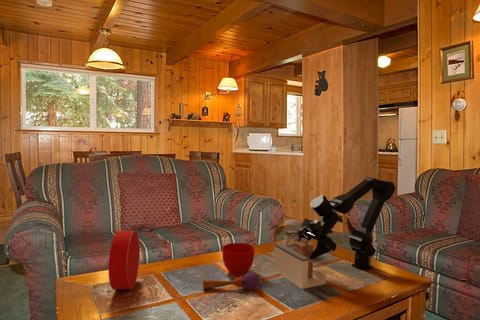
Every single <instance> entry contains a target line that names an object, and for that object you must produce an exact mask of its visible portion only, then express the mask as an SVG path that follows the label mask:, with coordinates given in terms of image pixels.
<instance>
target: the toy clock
mask: <svg viewBox="0 0 480 320" xmlns="http://www.w3.org/2000/svg"><path fill="white" fill-rule="evenodd" d="M139 264H140V239H139V234H138V231H136V230H117V231H116V232H115V234H114V236H113V238H112V242H111V245H110V250H109V255H108V279H109V284H110V287H111V289H112V290H133V289H134V287H135V285H136V282H137V278H138V272H139V266H140V265H139Z"/></svg>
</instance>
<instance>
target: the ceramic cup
mask: <svg viewBox="0 0 480 320" xmlns="http://www.w3.org/2000/svg"><path fill="white" fill-rule="evenodd" d="M255 249H256V248H255V246H254V245H251V244H249V243H245V242H234V243H233V242H231V243H226V244H224V245H223V246H222V249H221V252H222V261H223V263H224V267H225V269H227V271H228V272H229V273H230V274H231V275H233V276H243V275H244V276H245V275H246V274H247V273H248V271H249V270H250V269H251V267H252V265H253V263H254V260H255Z"/></svg>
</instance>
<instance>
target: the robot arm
mask: <svg viewBox="0 0 480 320" xmlns="http://www.w3.org/2000/svg"><path fill="white" fill-rule="evenodd" d="M370 191H371V192H372V193H371V194H372V199H371V201H370V204H369V206H368V209H367V210H366V213H365V215H364V217H363V220H362V222H361V225H360V227H359V228H357V229H355V228H353V229H352V230H351V231H352V232H351V234H350V235H349V239H348V242H349V245H350V248H351V251H354V262H353V263H352V264H351V266H352V267H355V268H357V269H360V270H361V271H368V270H372V269H373V268H374V265H371V261H372V259H371V258H372V257H373V256H375V255H376V252H377V249H376V248H375V247H374V246H373V245H372V243H373V233H372V232H373V230H374V228H375V226H376V223H377V221H378V219H379V216H380V214H381V212H382V209H383V208H384V205H385V203H386V202H387V201H388V200H390V199H391V198H392V197H393V195H394V193H395V191H396V186H395V184H394V182H393V181H389V180H382V179H377V178H375V177H365V178H364V179H363V180H362V181H361V182H360V183H358V184H356V186H354V187H353V188H351V189H350V190H349V191H347V192H346V193H344V194H338V195H337V196H335V197H333V198H332V199H331V200H328V199H327V196H326V195H324V194H321V195H319V196H317V197H315V198H313V199H312V200H311V201H310V208H311V209H312V210H313V211H314V212H315V214H317V215H318V217H321V218H320V219H319V220H318V219H315V220H311V219H308V218H306V217H304V218H303V222H302V224H301V225H299V226H297V228H296V230H297V233H298V236H299V239H297V240H298V242H300V241H301V238H304V239H306V240H308V242H309V243H310V241H311V240H314V241H316V242H317V243H316V247H315V248H313V252H312V254H311V256H310V258H309V259H310V260H313V261H314V260H315V259H317V258H318V257H321V256H323V255H325V254H328V253H331V252H333V253H334V252H335V250H336V249H337V243H336V242H335V241H334V239H332V238H331V237H329V236H328V235H329V234H331V235H332V234H333V229H334V228H335V226H336V225H337V224H338V223H340V224H342V223H343V221H344V220H343V216H342V215H339V213H340V214H343V215H346V214H348V213H349V212H350V211H351V210H352V209H353V207H354V206H355V203H356V202H357V201H359V200H360V199H361V198H362V197H364V196H365V195H367V193H369V192H370Z"/></svg>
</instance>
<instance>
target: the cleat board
mask: <svg viewBox="0 0 480 320" xmlns="http://www.w3.org/2000/svg"><path fill="white" fill-rule="evenodd" d="M286 246H287V245H286ZM286 246H284V243H283V244H282V242H280V243H279V242H277V243H274V260H273V263H274V264H273V268H274V269H273V270H274V271H275V272H276V273H278V274H279V275H280V276H282V277H284V278H285V279H286V280H288V281H289V282H290V283H292V284H294V285H295V286H297V288H299V289H301V290H304V289H308V288H312V287H313V288H314V287H318V286H322V285H326V284H327V274H326V273H324V272H322V271H320V270H319V269H318V268H315V267H314V266H313V277H312V278H309V279H308V258H307V257H305V256H303V255H301V254H299V253H298V252H296V251H294V250H292V249H290V248H288V247H286Z"/></svg>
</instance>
